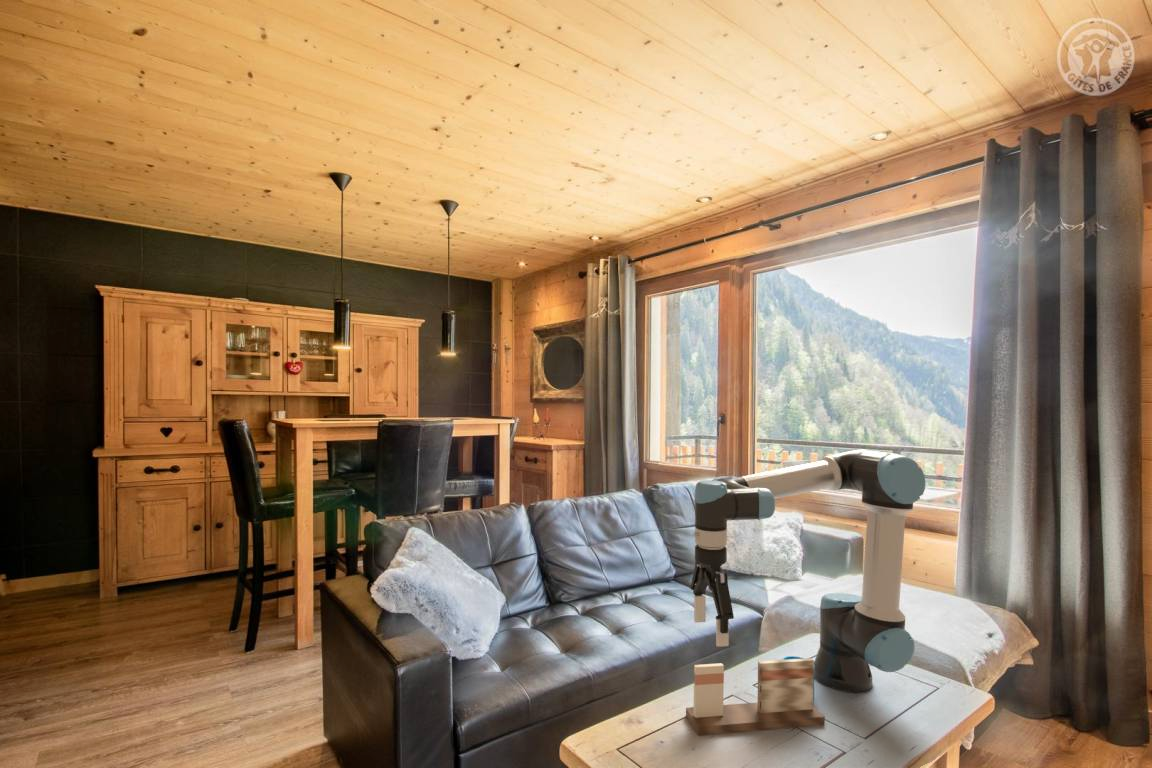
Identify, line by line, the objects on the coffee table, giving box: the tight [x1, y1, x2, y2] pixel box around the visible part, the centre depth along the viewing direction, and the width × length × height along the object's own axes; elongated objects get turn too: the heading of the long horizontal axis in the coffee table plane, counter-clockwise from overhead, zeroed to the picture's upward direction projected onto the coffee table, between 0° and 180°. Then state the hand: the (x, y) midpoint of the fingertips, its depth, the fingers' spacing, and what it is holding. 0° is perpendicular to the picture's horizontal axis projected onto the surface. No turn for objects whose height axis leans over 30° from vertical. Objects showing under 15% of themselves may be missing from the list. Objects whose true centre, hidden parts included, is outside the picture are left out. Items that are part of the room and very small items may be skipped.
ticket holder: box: [685, 657, 826, 736], centre depth 140 cm, size 32×8×14 cm, turn 99°
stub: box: [693, 662, 725, 718], centre depth 138 cm, size 7×1×12 cm, turn 99°
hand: (710, 633), depth 139 cm, fingers open, 13 cm apart
